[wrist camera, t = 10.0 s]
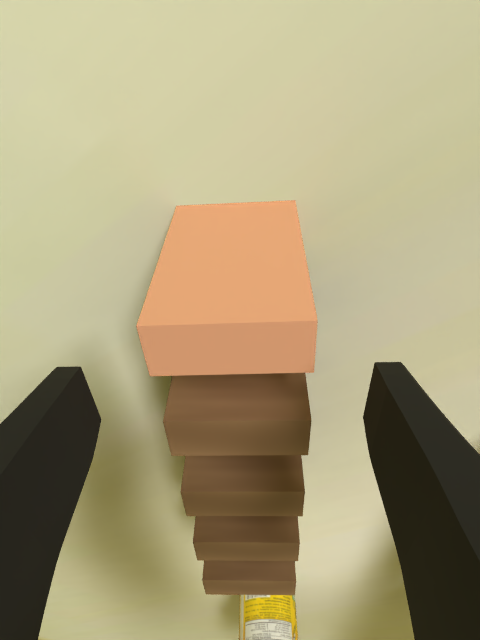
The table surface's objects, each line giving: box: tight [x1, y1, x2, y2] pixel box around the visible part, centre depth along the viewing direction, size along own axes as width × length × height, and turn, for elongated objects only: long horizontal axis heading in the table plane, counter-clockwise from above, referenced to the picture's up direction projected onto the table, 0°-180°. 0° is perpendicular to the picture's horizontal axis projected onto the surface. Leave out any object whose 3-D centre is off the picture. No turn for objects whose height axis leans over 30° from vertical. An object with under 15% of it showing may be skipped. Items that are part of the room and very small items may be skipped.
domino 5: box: [202, 560, 296, 595], centre depth 27 cm, size 2×5×8 cm, turn 93°
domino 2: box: [163, 373, 311, 456], centre depth 18 cm, size 2×5×8 cm, turn 92°
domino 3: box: [181, 455, 305, 516], centre depth 21 cm, size 2×5×8 cm, turn 93°
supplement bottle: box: [239, 595, 298, 640], centre depth 39 cm, size 5×5×10 cm
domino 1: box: [136, 201, 317, 376], centre depth 16 cm, size 2×5×8 cm, turn 93°
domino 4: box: [193, 516, 300, 561], centre depth 24 cm, size 2×5×8 cm, turn 93°
